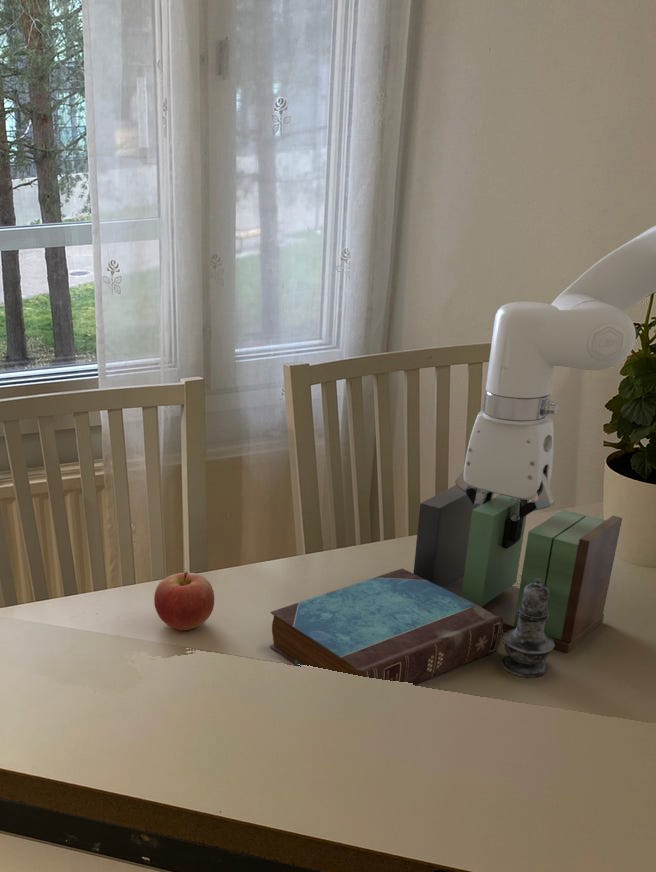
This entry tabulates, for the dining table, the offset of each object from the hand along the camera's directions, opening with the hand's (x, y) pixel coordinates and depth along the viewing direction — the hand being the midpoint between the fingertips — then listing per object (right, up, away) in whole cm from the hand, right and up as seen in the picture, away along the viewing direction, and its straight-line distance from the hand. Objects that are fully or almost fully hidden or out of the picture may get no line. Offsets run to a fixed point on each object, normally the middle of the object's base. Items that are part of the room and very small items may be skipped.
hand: (496, 540), depth 121 cm
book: (-17, -14, -6) cm, 23 cm away
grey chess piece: (0, -16, -10) cm, 19 cm away
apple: (-41, -11, +1) cm, 43 cm away
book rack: (+1, -9, +3) cm, 10 cm away
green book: (0, -7, +3) cm, 8 cm away
